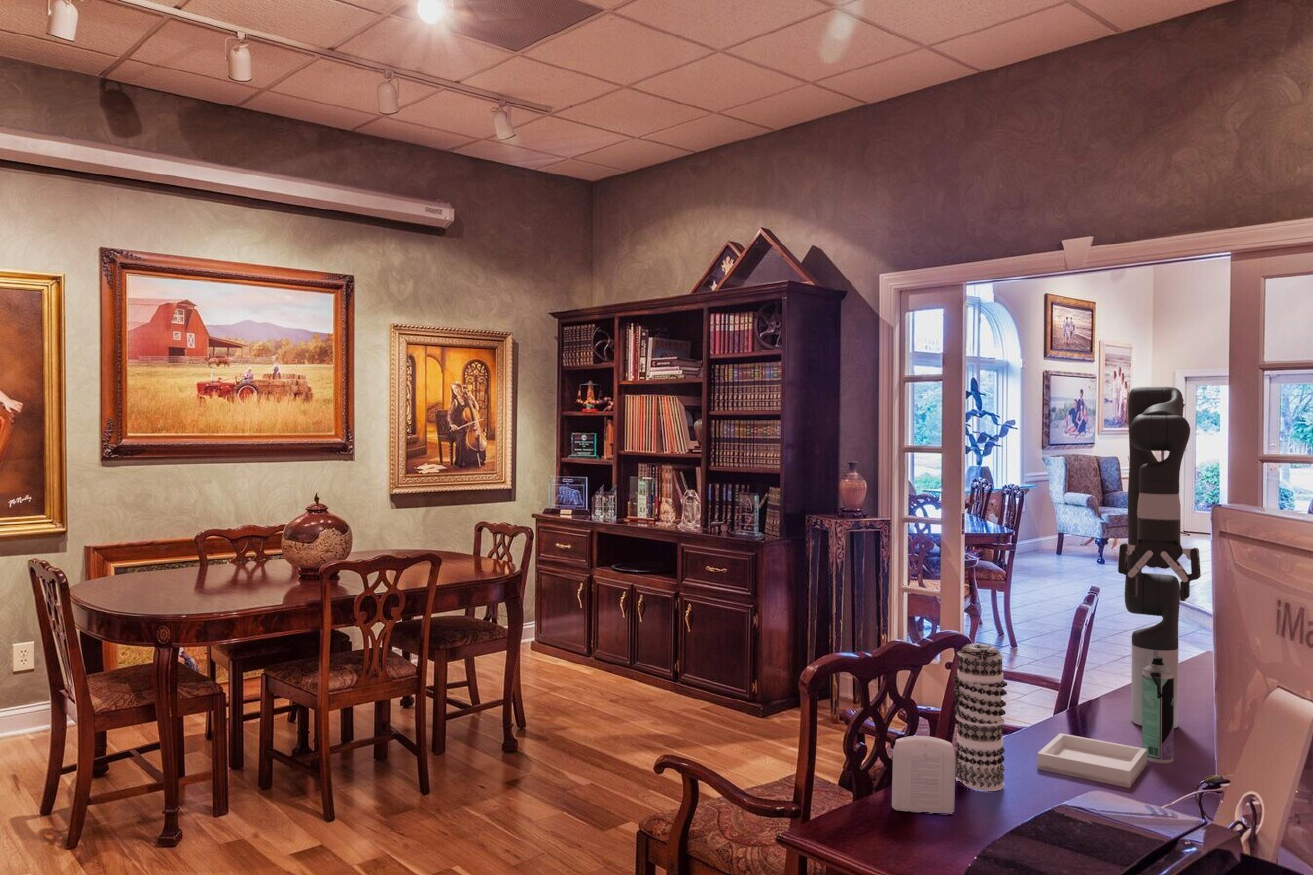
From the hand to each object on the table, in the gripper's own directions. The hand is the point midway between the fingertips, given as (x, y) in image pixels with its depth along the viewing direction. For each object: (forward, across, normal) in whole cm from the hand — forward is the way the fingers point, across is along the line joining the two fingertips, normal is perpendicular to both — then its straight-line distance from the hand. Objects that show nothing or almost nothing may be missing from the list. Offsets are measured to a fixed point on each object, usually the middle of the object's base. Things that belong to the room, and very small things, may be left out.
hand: (1158, 598), depth 187 cm
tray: (+32, +9, +13) cm, 35 cm away
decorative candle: (+32, +23, +36) cm, 53 cm away
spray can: (+32, 0, 0) cm, 32 cm away
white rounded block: (+32, +26, +54) cm, 68 cm away
